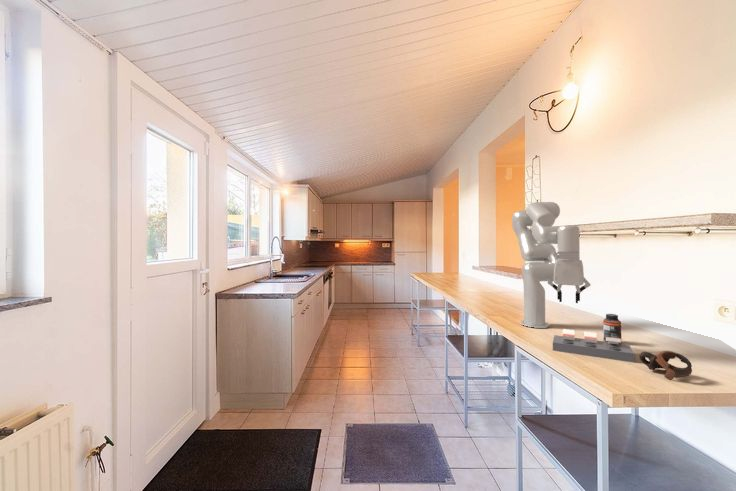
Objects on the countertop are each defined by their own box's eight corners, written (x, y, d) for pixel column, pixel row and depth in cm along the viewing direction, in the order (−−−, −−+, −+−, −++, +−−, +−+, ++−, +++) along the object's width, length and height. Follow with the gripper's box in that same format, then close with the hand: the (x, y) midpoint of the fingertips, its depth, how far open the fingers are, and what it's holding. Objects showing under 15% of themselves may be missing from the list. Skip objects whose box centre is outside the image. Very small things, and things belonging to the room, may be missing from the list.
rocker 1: (562, 333, 130) (562, 328, 130) (574, 334, 128) (574, 329, 128) (562, 340, 125) (562, 335, 125) (574, 342, 123) (574, 337, 123)
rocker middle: (583, 336, 126) (583, 331, 126) (596, 337, 124) (596, 332, 124) (584, 343, 122) (584, 338, 121) (597, 345, 119) (597, 339, 119)
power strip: (554, 342, 132) (554, 334, 132) (629, 352, 119) (629, 343, 119) (552, 350, 122) (552, 341, 122) (634, 362, 109) (634, 352, 109)
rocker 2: (606, 342, 122) (605, 337, 122) (619, 344, 120) (619, 338, 120) (607, 343, 117) (607, 336, 118) (621, 344, 115) (620, 338, 115)
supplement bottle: (615, 340, 135) (615, 313, 135) (625, 344, 129) (625, 316, 129) (600, 339, 136) (600, 313, 136) (609, 344, 130) (609, 316, 130)
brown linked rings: (684, 374, 100) (695, 356, 96) (684, 396, 94) (695, 378, 90) (636, 356, 107) (644, 339, 103) (633, 376, 101) (641, 358, 97)
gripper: (543, 256, 130) (543, 301, 130) (594, 257, 121) (595, 305, 121) (544, 256, 136) (545, 299, 136) (593, 256, 127) (594, 302, 127)
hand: (568, 301), depth 128 cm, fingers open, 4 cm apart
